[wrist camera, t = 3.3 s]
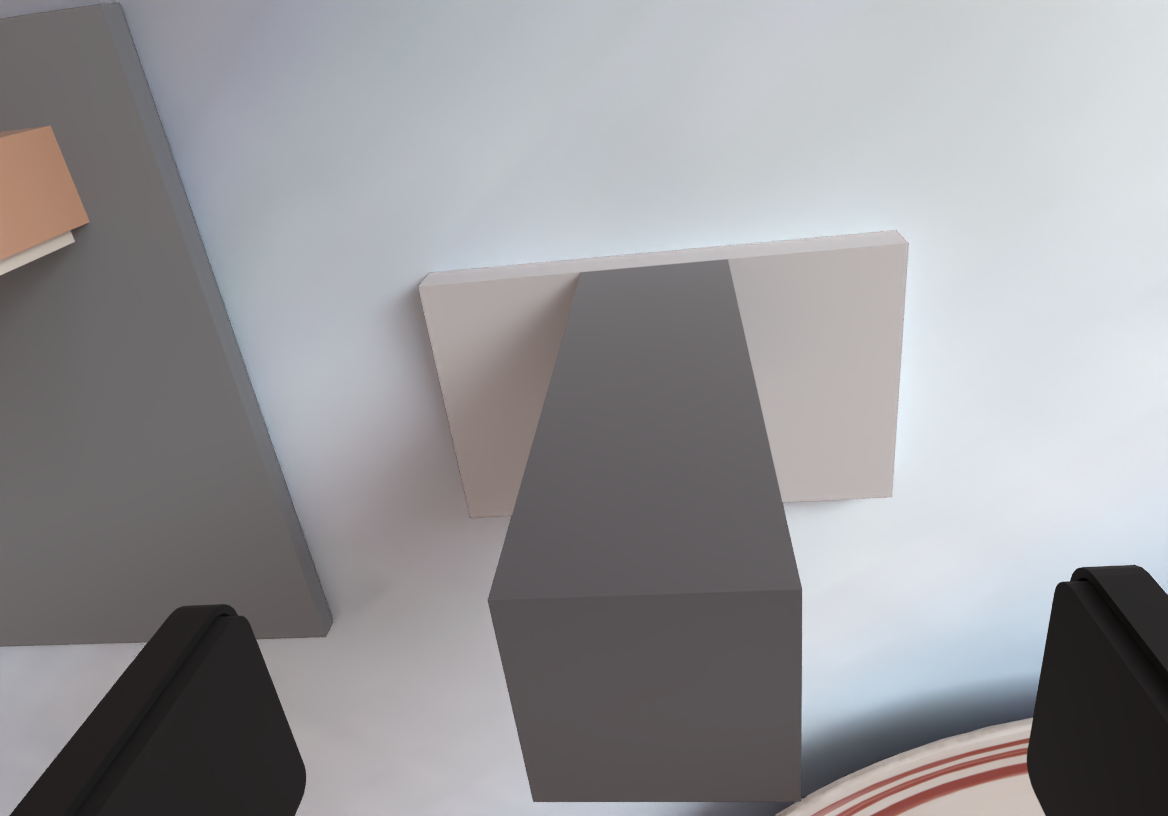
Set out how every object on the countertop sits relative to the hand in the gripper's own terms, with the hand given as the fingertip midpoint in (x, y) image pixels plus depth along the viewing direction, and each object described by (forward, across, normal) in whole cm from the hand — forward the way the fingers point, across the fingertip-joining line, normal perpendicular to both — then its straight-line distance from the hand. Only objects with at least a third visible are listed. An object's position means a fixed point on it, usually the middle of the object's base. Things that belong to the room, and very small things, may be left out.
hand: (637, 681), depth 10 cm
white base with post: (+10, 0, +1) cm, 10 cm away
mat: (+10, +17, 0) cm, 19 cm away
